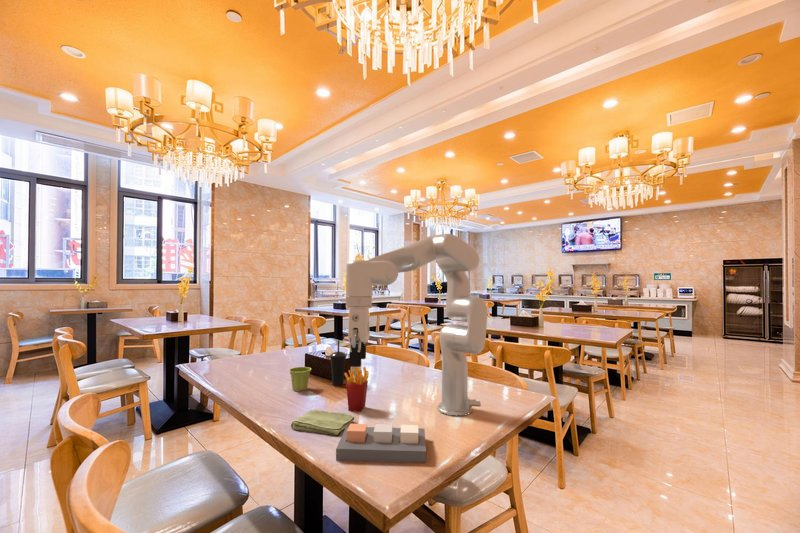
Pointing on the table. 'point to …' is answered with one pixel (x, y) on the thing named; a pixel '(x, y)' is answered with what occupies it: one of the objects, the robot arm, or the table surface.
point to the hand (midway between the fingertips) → (357, 362)
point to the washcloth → (322, 422)
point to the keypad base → (382, 448)
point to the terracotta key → (357, 433)
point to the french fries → (357, 389)
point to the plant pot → (300, 378)
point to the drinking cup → (338, 367)
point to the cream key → (409, 434)
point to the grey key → (383, 433)
